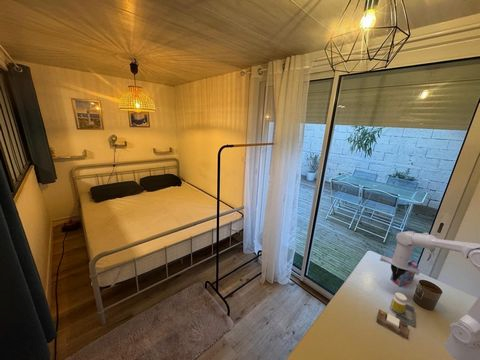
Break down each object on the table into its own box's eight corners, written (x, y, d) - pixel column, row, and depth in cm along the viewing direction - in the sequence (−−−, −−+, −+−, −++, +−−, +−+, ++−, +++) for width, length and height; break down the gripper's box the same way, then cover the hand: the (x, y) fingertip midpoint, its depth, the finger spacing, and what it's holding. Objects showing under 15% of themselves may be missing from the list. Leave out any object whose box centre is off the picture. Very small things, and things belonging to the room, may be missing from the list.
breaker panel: (406, 327, 81) (408, 323, 81) (406, 339, 77) (408, 334, 76) (378, 312, 87) (379, 308, 87) (376, 322, 83) (377, 317, 82)
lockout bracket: (413, 312, 89) (414, 307, 88) (413, 327, 82) (415, 322, 81) (396, 304, 92) (397, 299, 92) (395, 317, 86) (396, 313, 85)
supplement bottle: (405, 316, 86) (410, 301, 84) (393, 314, 87) (398, 299, 85) (399, 307, 91) (404, 292, 88) (387, 305, 92) (392, 290, 89)
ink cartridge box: (400, 288, 102) (407, 264, 98) (389, 280, 107) (396, 257, 103) (412, 284, 105) (420, 261, 101) (401, 276, 110) (408, 254, 106)
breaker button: (397, 323, 82) (399, 319, 82) (397, 331, 79) (399, 326, 79) (386, 317, 85) (387, 313, 84) (385, 324, 82) (386, 319, 81)
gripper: (422, 258, 90) (413, 282, 93) (383, 245, 99) (377, 267, 102) (422, 266, 84) (413, 291, 88) (382, 251, 93) (375, 275, 97)
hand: (394, 279), depth 95 cm, fingers closed
